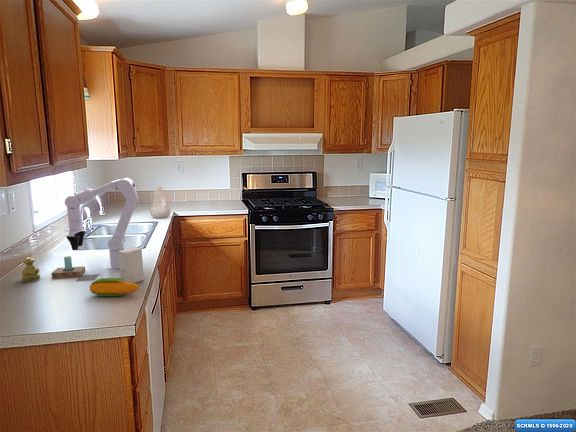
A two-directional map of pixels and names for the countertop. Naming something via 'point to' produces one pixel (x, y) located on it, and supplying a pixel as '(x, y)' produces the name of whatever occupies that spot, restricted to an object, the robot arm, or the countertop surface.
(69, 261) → the peg
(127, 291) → the corn
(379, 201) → the countertop surface
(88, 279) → the mat
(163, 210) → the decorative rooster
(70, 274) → the hole block
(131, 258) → the skincare box
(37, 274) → the olive yellow figurine
